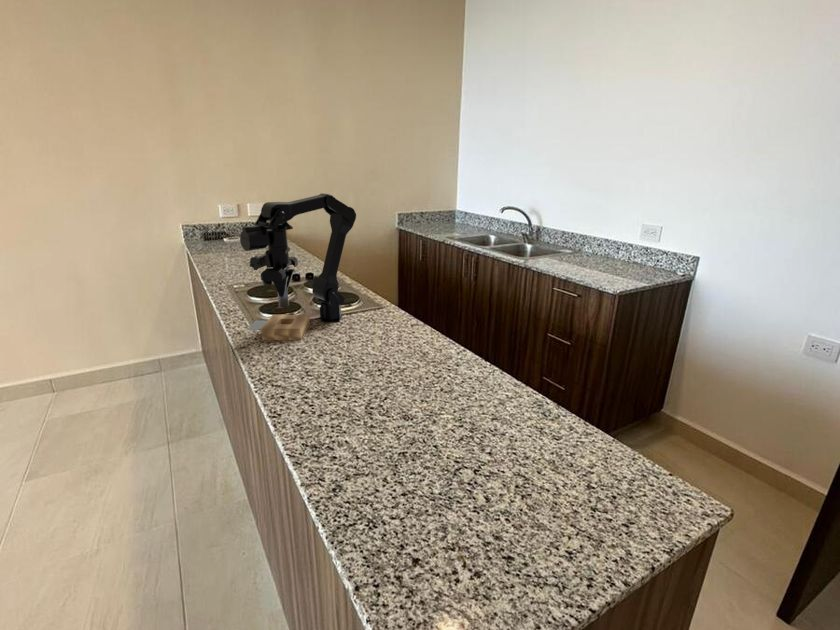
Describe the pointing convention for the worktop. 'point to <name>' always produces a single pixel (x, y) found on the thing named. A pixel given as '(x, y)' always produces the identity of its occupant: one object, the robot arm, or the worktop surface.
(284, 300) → the pin
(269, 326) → the socket block
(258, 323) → the mat
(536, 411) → the worktop surface
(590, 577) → the worktop surface
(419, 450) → the worktop surface
